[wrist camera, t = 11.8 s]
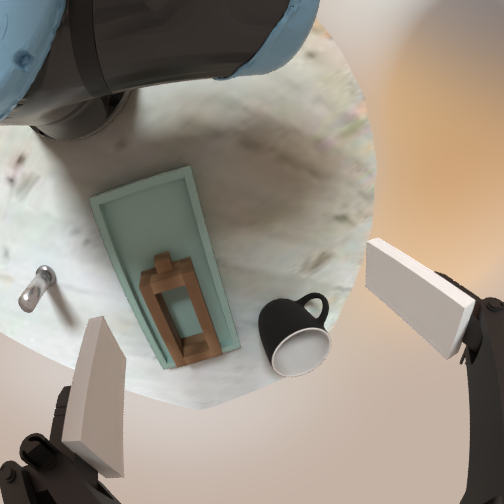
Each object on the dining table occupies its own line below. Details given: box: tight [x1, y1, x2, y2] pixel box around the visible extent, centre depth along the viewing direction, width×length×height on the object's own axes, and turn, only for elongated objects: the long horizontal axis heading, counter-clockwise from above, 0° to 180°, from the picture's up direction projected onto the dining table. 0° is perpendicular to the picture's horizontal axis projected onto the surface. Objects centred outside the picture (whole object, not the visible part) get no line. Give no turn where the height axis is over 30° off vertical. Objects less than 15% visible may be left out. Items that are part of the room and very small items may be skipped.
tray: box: [89, 165, 241, 370], centre depth 39 cm, size 28×13×2 cm, turn 13°
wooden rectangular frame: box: [139, 251, 223, 368], centre depth 39 cm, size 7×16×4 cm, turn 13°
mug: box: [258, 293, 331, 377], centre depth 42 cm, size 12×9×10 cm
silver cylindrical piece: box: [18, 265, 55, 313], centre depth 31 cm, size 3×3×8 cm
